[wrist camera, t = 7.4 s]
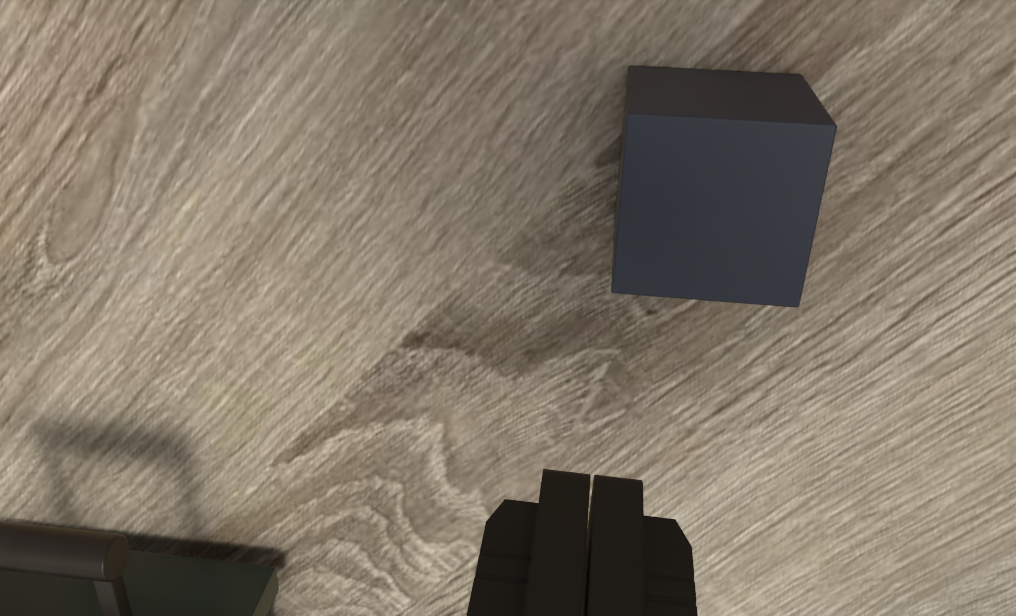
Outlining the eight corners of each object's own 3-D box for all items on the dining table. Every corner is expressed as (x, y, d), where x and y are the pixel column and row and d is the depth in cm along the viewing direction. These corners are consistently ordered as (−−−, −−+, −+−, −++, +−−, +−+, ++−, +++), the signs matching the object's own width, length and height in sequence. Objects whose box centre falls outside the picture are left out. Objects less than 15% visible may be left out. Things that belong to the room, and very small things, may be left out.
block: (614, 221, 25) (610, 293, 21) (628, 65, 22) (627, 113, 19) (772, 232, 24) (799, 308, 20) (802, 74, 22) (838, 125, 18)
